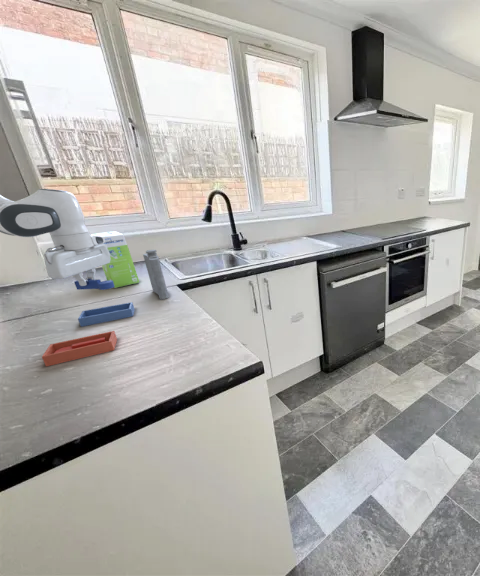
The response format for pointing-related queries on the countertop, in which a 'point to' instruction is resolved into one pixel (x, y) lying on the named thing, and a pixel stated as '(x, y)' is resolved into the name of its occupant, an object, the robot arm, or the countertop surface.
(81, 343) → the red spoon
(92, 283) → the blue spoon
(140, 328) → the countertop surface
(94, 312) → the blue tray
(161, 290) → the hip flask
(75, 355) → the red tray
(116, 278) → the cleaning wipes box
